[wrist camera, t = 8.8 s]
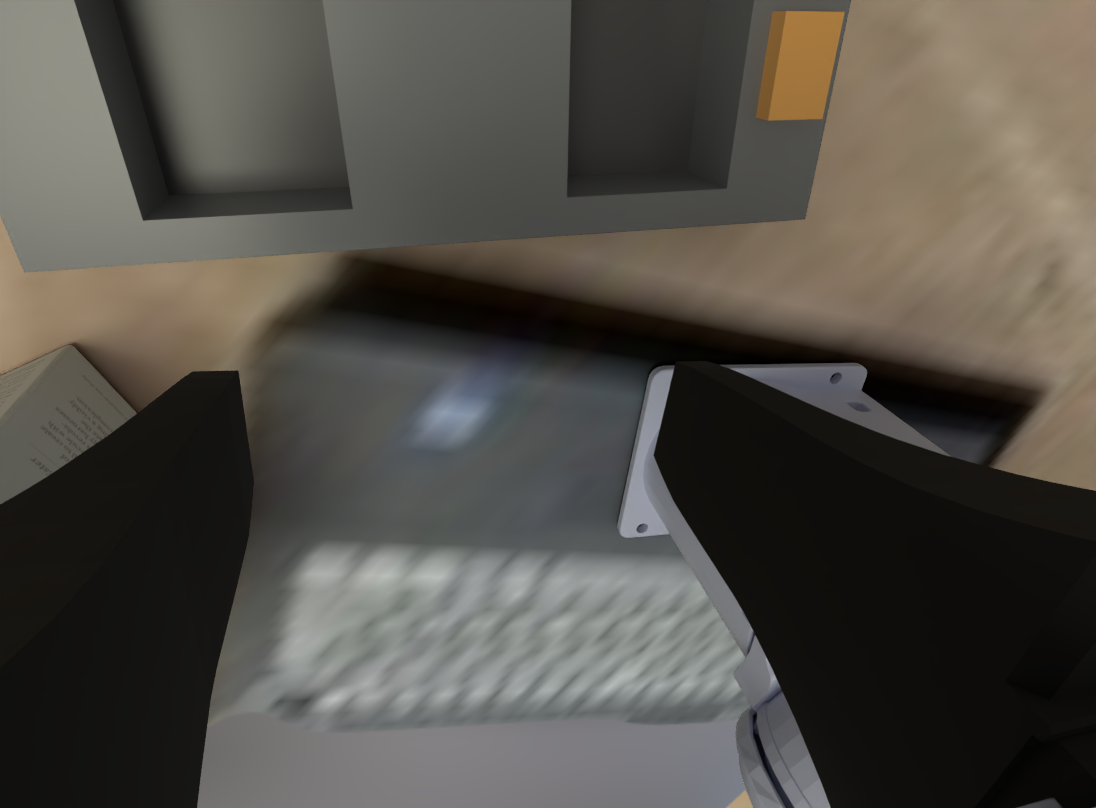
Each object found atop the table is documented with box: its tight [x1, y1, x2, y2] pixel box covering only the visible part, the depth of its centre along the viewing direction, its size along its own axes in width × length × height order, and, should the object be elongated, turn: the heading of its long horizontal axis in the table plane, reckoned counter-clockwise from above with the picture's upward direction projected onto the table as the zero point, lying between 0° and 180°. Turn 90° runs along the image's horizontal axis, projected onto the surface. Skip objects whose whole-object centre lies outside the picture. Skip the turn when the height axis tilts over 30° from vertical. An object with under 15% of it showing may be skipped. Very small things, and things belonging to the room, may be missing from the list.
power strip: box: [0, 0, 851, 272], centre depth 16 cm, size 20×8×4 cm, turn 90°
